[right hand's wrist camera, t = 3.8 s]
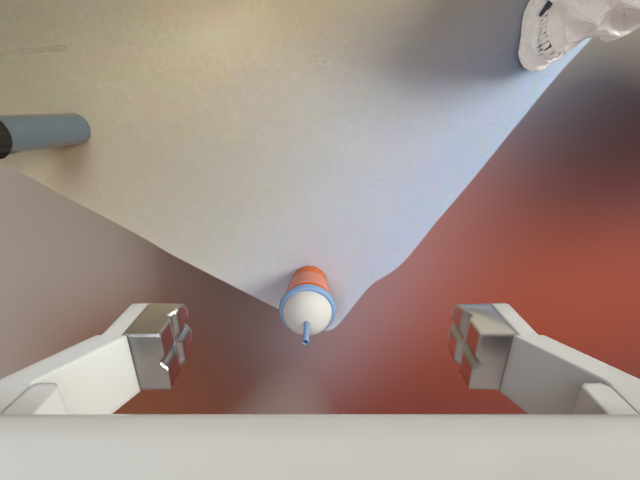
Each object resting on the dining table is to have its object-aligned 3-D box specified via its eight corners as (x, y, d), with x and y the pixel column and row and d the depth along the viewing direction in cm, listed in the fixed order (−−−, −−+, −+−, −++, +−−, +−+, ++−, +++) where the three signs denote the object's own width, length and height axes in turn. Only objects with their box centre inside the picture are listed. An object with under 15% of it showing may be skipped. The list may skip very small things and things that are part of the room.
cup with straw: (281, 296, 65) (267, 362, 48) (290, 254, 62) (278, 308, 45) (327, 305, 66) (330, 373, 49) (338, 263, 63) (345, 321, 46)
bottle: (87, 113, 53) (-11, 116, 37) (92, 144, 55) (1, 159, 39) (57, 112, 53) (-54, 114, 37) (63, 142, 55) (-39, 157, 39)
